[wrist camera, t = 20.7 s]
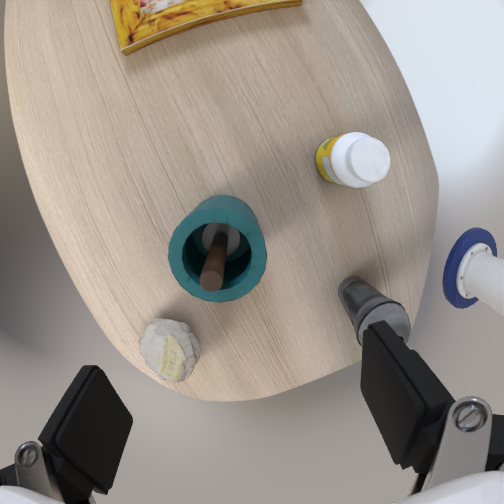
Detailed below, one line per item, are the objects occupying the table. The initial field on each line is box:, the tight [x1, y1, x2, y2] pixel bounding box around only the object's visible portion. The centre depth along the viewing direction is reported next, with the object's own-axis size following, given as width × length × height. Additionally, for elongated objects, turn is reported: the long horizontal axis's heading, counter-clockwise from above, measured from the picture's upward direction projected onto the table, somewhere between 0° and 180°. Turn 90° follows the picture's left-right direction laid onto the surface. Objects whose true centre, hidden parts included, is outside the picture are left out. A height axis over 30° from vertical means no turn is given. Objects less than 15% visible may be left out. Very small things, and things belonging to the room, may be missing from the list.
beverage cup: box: [338, 276, 411, 347], centre depth 32 cm, size 7×7×20 cm
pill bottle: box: [315, 132, 390, 188], centre depth 31 cm, size 6×6×12 cm
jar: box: [168, 196, 267, 302], centre depth 33 cm, size 10×10×12 cm
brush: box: [200, 222, 241, 292], centre depth 29 cm, size 5×5×17 cm
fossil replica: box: [139, 318, 200, 382], centre depth 39 cm, size 12×8×10 cm
